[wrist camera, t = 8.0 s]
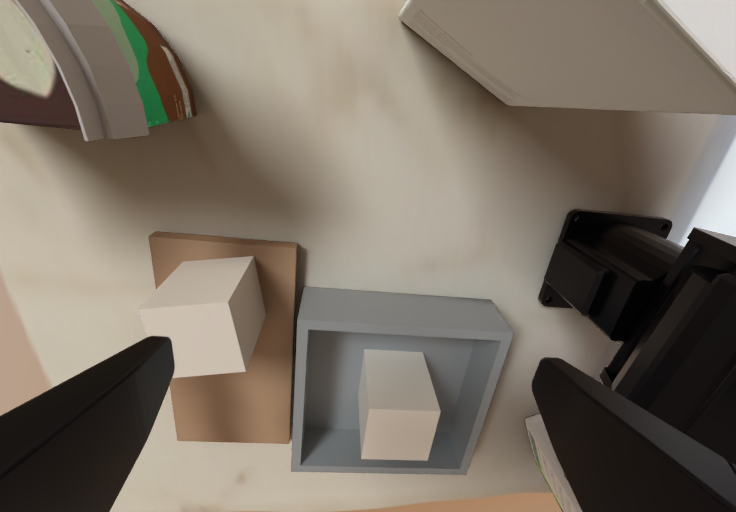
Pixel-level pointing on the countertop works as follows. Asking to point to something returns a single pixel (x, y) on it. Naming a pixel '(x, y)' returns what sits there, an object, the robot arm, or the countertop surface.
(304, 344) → the bin
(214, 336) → the cream white block
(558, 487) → the syrup box
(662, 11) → the supplement box
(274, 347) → the brown rectangular board
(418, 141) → the countertop surface
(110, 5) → the food container
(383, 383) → the stone
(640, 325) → the robot arm
